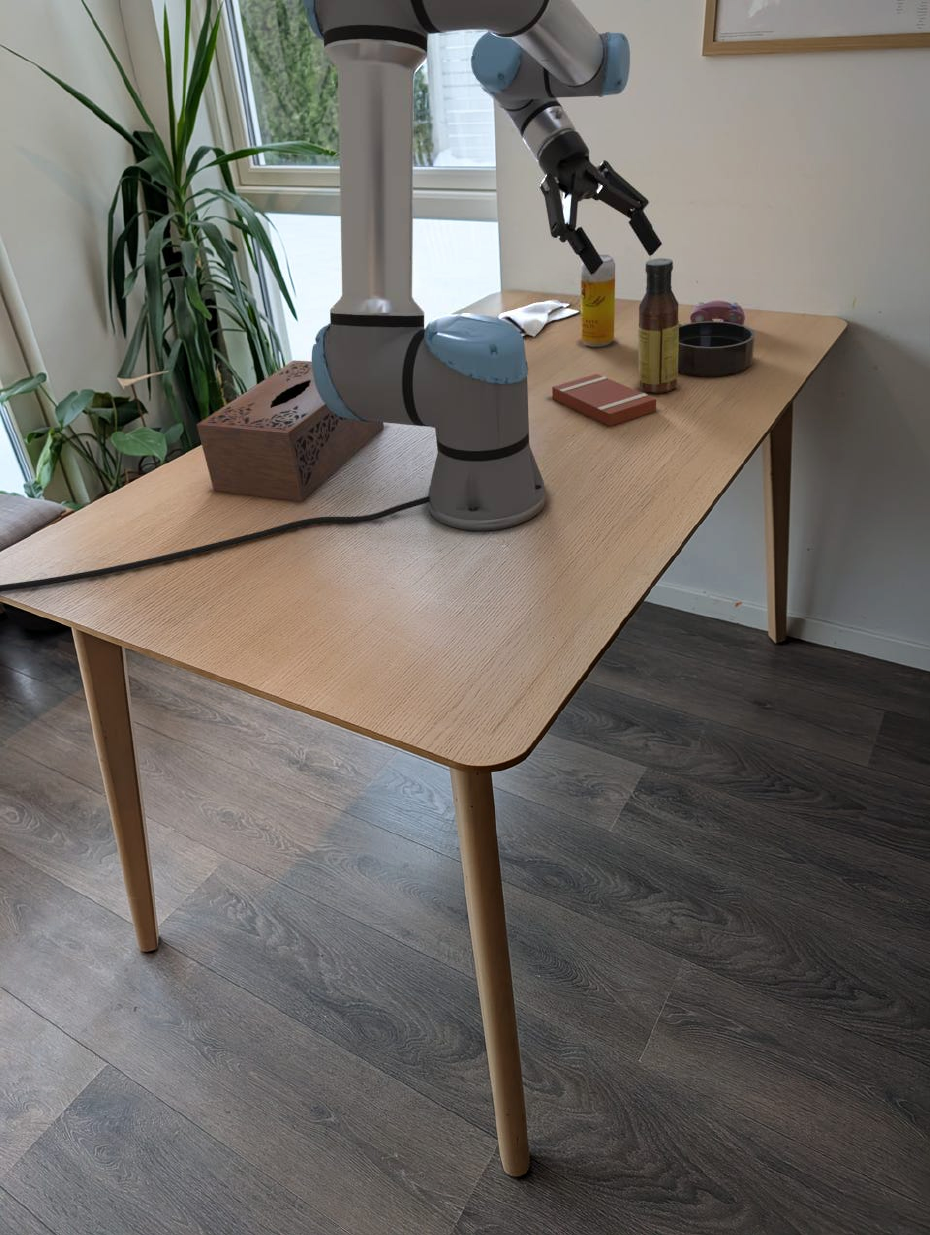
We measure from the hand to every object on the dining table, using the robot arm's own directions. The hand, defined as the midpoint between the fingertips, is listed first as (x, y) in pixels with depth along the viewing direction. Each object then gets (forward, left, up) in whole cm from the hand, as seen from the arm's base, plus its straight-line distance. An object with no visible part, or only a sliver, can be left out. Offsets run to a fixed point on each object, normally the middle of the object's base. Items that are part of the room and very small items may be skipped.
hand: (627, 259), depth 139 cm
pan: (+15, -4, -19) cm, 25 cm away
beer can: (+8, +18, -19) cm, 28 cm away
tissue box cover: (-56, +6, -19) cm, 59 cm away
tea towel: (-10, -7, -19) cm, 23 cm away
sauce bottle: (+1, -7, -19) cm, 21 cm away
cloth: (+6, +39, -19) cm, 44 cm away
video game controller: (+28, +8, -19) cm, 35 cm away
